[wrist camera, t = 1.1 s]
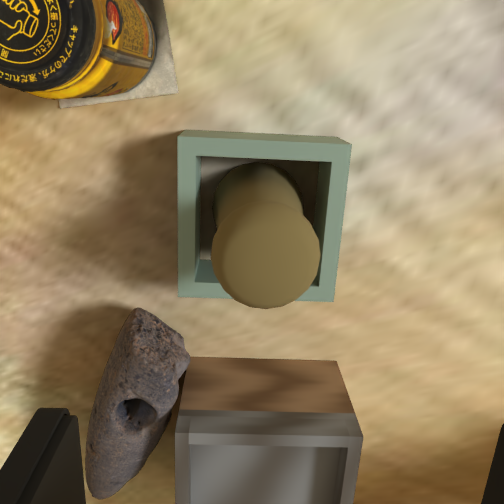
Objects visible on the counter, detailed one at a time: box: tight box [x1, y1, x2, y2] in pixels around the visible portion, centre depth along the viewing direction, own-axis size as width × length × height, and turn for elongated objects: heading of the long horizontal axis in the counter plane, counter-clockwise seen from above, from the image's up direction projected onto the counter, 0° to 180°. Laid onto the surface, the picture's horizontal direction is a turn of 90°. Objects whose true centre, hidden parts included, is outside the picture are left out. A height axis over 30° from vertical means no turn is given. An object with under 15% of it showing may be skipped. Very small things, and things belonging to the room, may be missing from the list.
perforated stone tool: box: [85, 308, 190, 499], centre depth 33 cm, size 15×5×7 cm, turn 157°
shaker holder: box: [177, 130, 352, 302], centre depth 30 cm, size 10×10×4 cm
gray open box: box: [175, 357, 363, 504], centre depth 33 cm, size 11×12×8 cm
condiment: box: [0, 0, 178, 108], centre depth 22 cm, size 7×8×12 cm
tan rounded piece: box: [211, 162, 321, 309], centre depth 26 cm, size 6×6×11 cm
